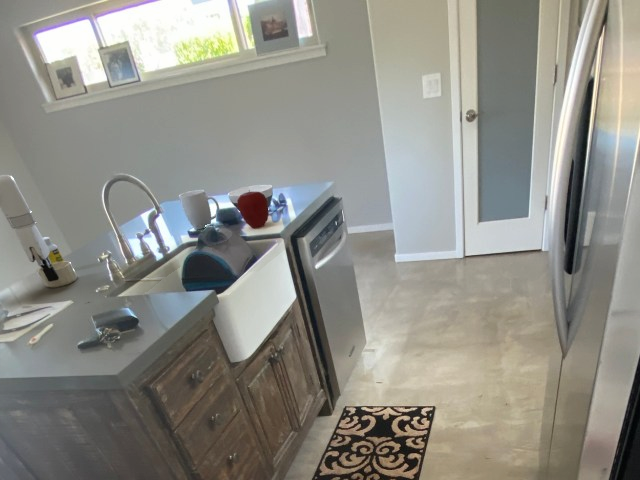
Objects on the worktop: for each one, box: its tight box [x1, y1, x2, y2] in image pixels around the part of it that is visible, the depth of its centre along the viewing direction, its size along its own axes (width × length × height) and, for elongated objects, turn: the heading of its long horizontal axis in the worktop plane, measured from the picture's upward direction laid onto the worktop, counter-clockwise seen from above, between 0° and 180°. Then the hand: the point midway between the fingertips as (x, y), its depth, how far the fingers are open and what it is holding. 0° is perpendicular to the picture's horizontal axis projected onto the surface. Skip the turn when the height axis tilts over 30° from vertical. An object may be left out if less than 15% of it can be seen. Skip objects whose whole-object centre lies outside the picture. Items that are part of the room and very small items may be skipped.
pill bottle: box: [43, 236, 65, 263], centre depth 193 cm, size 6×6×12 cm
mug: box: [178, 189, 220, 230], centre depth 220 cm, size 15×11×13 cm
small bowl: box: [36, 260, 78, 289], centre depth 183 cm, size 11×11×6 cm
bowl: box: [227, 184, 274, 212], centre depth 226 cm, size 20×20×10 cm
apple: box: [237, 191, 269, 229], centre depth 207 cm, size 12×12×13 cm
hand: (54, 280), depth 178 cm, fingers closed
